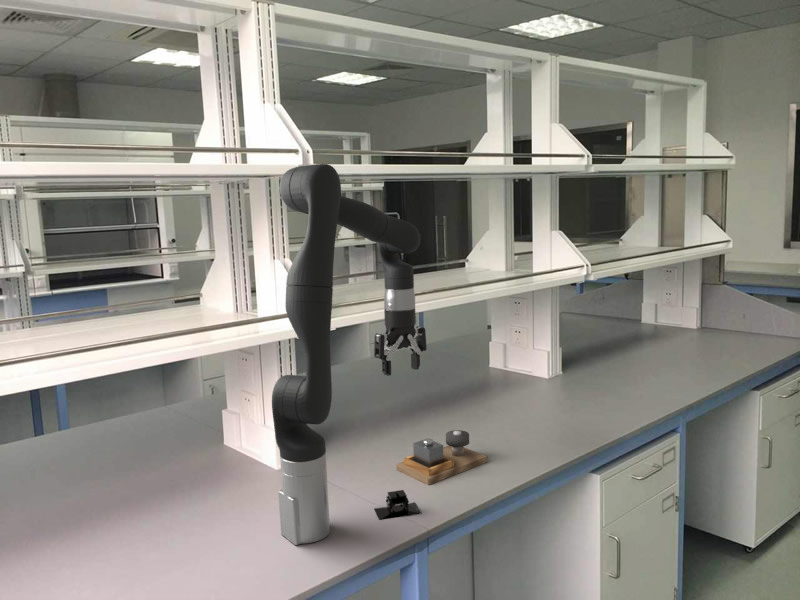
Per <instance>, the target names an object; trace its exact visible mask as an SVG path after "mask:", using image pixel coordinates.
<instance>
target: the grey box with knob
mask: <svg viewBox="0 0 800 600" xmlns="http://www.w3.org/2000/svg"><path fill="white" fill-rule="evenodd" d="M412 443H413V449H412V450H413V455H414V461H415V462H417V463H419V464H421V465H424V466H426V467H428V468H431V467H433V466H436V465H439V464H441V463H444V457H443V447H444V444H443V443H439V442H437V441H434V439H433V438H424V439H422V440H419V441H416V442H412Z"/></svg>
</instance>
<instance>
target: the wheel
mask: <svg viewBox="0 0 800 600" xmlns="http://www.w3.org/2000/svg"><path fill="white" fill-rule="evenodd" d="M445 444H446V446H452V447H463V446H464V447H467V446H469V444H470V433H469V432H468V431H465V430H460V429H459V430H458V429H454V430H449V431H447V432H446V433H445Z"/></svg>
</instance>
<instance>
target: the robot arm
mask: <svg viewBox="0 0 800 600" xmlns="http://www.w3.org/2000/svg"><path fill="white" fill-rule="evenodd" d="M279 182H280V183H279V194H280V197H281V199H282V201H283V202H284V204H285V205H286V206H287V207H288V208H289V209H291V210H292V211H295V212H299V213H303V214H305V215H306V214H307V216H308V217H307V228H306V232H305V237H304V239H303V242H302V245H301V246H300V248H299V250H298V252H297V254H296V256H295V258H294V259H293V262H292V263H291V266H290V268H289V271H288V273H287V277H286V284H285V312H286V316H287V318H288V320H289V323H290V325H291V328H292V329H293V331H294V332H295V335H296V336H297V338H298V340H299V343H300V344H301V347H302V350H303V355H304V359H305V375H297V374H285V375H282V376H280V377H279V378H278V379H277V381H276V382H275V384H274V387H273V389H272V394H271V411H272V419H273V427H274V435H275V442H276V445H277V447H278V449H279V459H280V460H279V461H280V475H281V478H280V479H281V489H280V490H278V492H277V495H278V505H279V506H278V508H279V521H280V525H279V526H280V535H282V537H284V538H285V539H286V540H289V542H291V543H292V544H293V545H294V546H299V545H302V544H310V543H316V542H319V541H321V540H323V539H325V538H326V537H327V536H328V535H329V534H330V532H331V525H330V522H331V521H330V520H331V519H330V506H329V505H330V503H329V488H328V470H327V450H326V449H327V448H326V447H327V446H326V440H325V438H324V437H323V436H322V435H321V434H320V433H318V432H317V431H315V430H313V429H312V428H311V427H310V426H309V425H321V424H323V423H324V422H325V421H326V420H327V419H328V416H329V414H330V411H331V406H332V400H333V399H332V398H333V395H332V394H333V391H332V390H333V388H332V387H333V385H332V366H331V365H332V364H331V363H332V362H331V327H332V325H331V324H332V311H333V310H332V309H333V308H332V307H333V294H334V293H333V292H334V288H333V287H334V260H335V258H334V257H335V246H336V238H337V237H336V236H337V230H338V229H337V228H338V226H340V227H342V228H345V229H348V230H349V231H351V232H353V233H355V234H357V235H359V236H361V237H363V238H364V239H366V240H368V241H370V242H373V243H376V248H377V251H378V254H379V258H380V263H381V265H382V268H383V272H384V295H383V304H384V305H383V307H384V309H383V310H384V326H385V333H374V342H373V343H374V347H373V349H374V350H373V351H374V352H373V354H374V355H373V356H374V359H379V360H381V370H382V373H383V375H384V376H387V377H390V376H392V360H391V359H392V357H393V355H394V354H395V353H396V352H397V350H401V349H406V348H407V349H409V351H410V352H411V354H410V365H411V366H410V367H411V369H412V370H416V371H417V370H419V369H420V366H421V354H422V353H423V352H426V350H427V349H428V348H427V336H426V335H427V334H426V328H425V327H423V326H416V324H417V322H416V321H417V319H416V294H415V286H414V285H415V281H414V279H415V278H414V268H413V266H412V265H411V264H409V263H407V262H404V261H402V259H401V258H400V255H399V254H411V253H413V252H415V251H416V250H418V248H419V246H420V245H421V234H420V231H419V230H418V228H417V227H416V225H414V224H412V223H411V222H409V221H406V220H404V219H400V218H397V217H395V216H390V215H388V214H386V213H385V212H383V211H382V210H380V209H379V208H377V207H375V206H373V205H371V204H369V203H366V202H364V201H361V200H358V199H354V198H350V197H346V196H343V195H342V186H341V185H342V184H341V179H340V176H339V173H338V171H337V169H335V168H334V167H333V166H332V165H331V164H328V163H318V164H317V163H316V164H308V165H301V166H295V167H293V168H289V169H288V170H287V171H285V172H284V173H283V174H282V176H281V178H280V181H279ZM415 326H416V327H415ZM414 337H415V339H414Z"/></svg>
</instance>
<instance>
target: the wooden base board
mask: <svg viewBox="0 0 800 600" xmlns="http://www.w3.org/2000/svg"><path fill="white" fill-rule="evenodd" d="M443 457H444V463H441V464H439V465H436V466H433V467H431V468H428V467H426V466H424V465H421V464H419V463H417V462H415V461H414V454H412V455H409V456H406V457H404V458H403V461H401V462H399V463H396V471H398V472H400V473H402V474H404V475H406V476H408V477H410V478H413V479H414V480H416V481H419V482H421V483H423V484H424V485H426V486H429V485H432V484H434V483H437V482H440V481H442V480H444V479H446V478H447V479H448V478H450V477H452V476H455V475H457V474H460V473H462V472H465V471H468V470H471V469H473V468H476V467H478V466H480V465H483V464H485V463H487V462H488V456H487V455H484V454H482V453H479V452H477V451H474V450H472V449H469V448H466V447H465V446H463V447H452V446H449V445H446V446H443Z"/></svg>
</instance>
